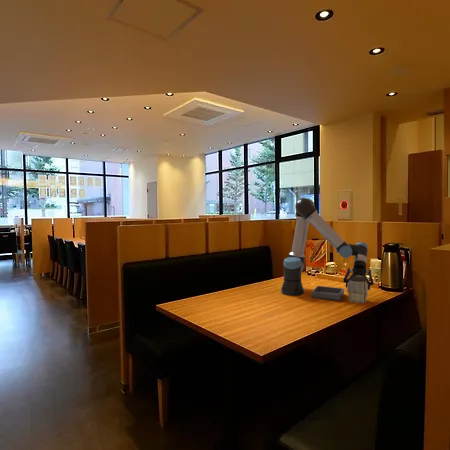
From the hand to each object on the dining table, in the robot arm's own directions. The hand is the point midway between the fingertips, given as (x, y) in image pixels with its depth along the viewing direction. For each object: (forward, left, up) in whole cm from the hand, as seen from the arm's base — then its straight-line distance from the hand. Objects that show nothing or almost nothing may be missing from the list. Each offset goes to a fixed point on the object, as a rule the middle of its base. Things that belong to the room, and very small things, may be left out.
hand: (357, 292), depth 192 cm
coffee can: (0, +3, -6) cm, 6 cm away
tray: (-18, +5, -5) cm, 19 cm away
